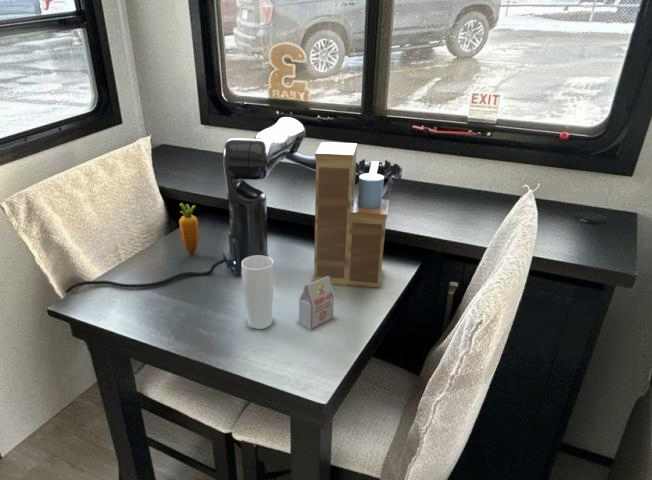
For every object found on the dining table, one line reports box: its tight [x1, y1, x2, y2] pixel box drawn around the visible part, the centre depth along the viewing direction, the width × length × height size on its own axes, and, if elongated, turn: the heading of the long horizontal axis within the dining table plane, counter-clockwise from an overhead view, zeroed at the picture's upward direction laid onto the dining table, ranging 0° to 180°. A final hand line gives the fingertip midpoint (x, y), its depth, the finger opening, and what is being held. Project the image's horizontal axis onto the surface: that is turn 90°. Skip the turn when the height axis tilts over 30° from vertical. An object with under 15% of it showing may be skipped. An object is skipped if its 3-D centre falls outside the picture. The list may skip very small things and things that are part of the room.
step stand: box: [313, 141, 390, 289], centre depth 130 cm, size 10×16×32 cm, turn 77°
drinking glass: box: [241, 255, 275, 330], centre depth 116 cm, size 7×7×15 cm
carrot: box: [178, 202, 199, 257], centre depth 146 cm, size 5×5×15 cm
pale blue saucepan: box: [357, 160, 384, 208], centre depth 132 cm, size 18×6×7 cm, turn 167°
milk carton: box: [298, 276, 335, 331], centre depth 118 cm, size 4×7×10 cm, turn 129°
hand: (374, 163), depth 133 cm, fingers open, 5 cm apart
